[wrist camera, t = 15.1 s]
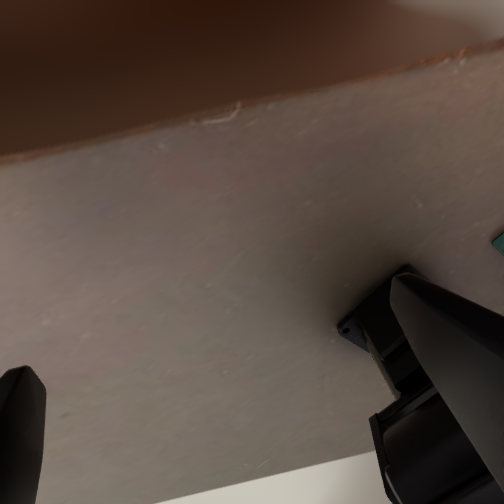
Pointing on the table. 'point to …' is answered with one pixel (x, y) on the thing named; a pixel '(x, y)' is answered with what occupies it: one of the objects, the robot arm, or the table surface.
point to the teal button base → (499, 243)
